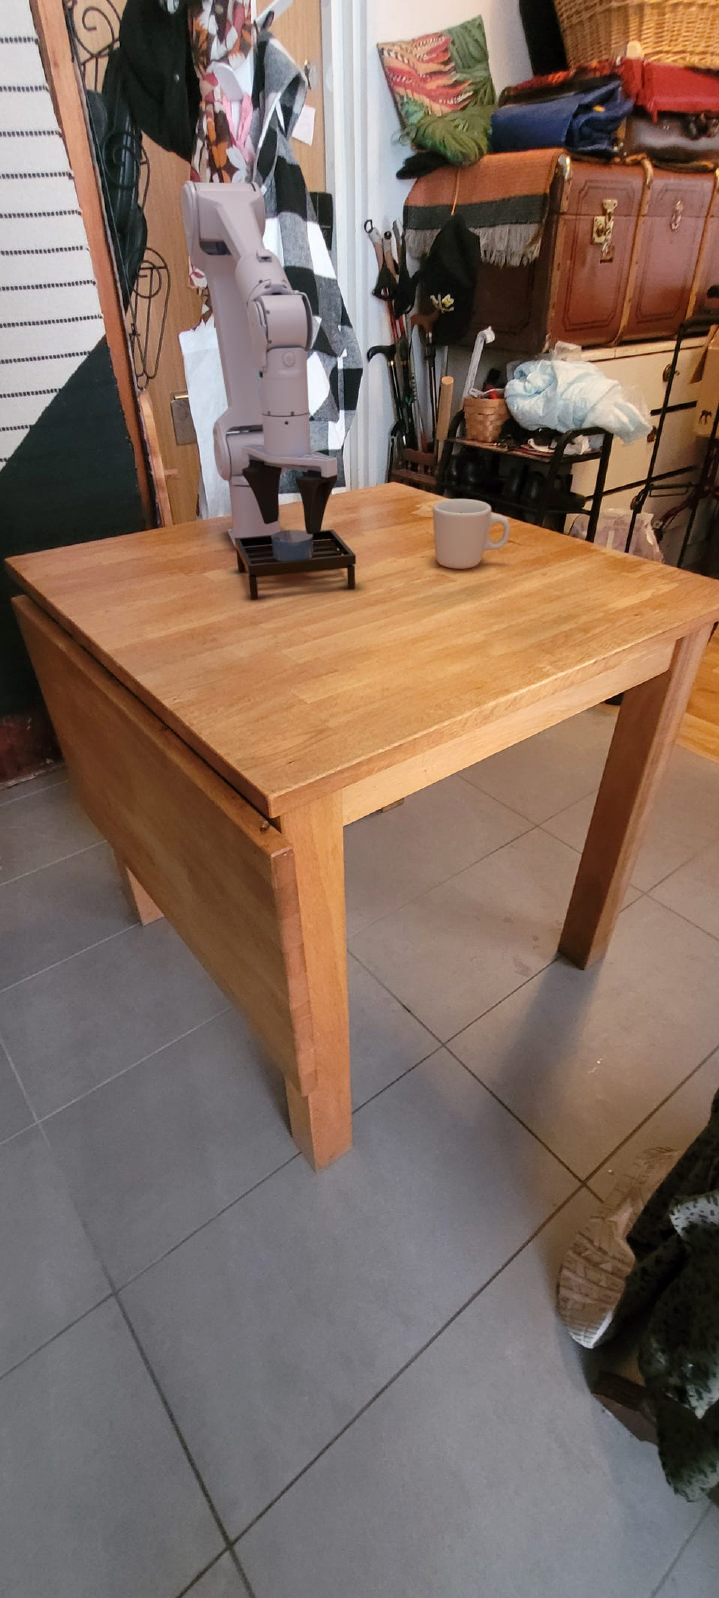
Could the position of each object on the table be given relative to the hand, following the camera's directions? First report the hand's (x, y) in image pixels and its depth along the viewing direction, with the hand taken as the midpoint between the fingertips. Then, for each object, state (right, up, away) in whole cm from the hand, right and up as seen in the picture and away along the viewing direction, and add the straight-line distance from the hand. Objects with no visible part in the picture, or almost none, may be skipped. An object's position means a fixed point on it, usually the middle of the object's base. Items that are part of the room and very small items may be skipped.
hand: (292, 527), depth 101 cm
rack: (0, -6, +4) cm, 7 cm away
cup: (+24, -2, +9) cm, 26 cm away
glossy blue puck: (0, -3, +2) cm, 4 cm away
